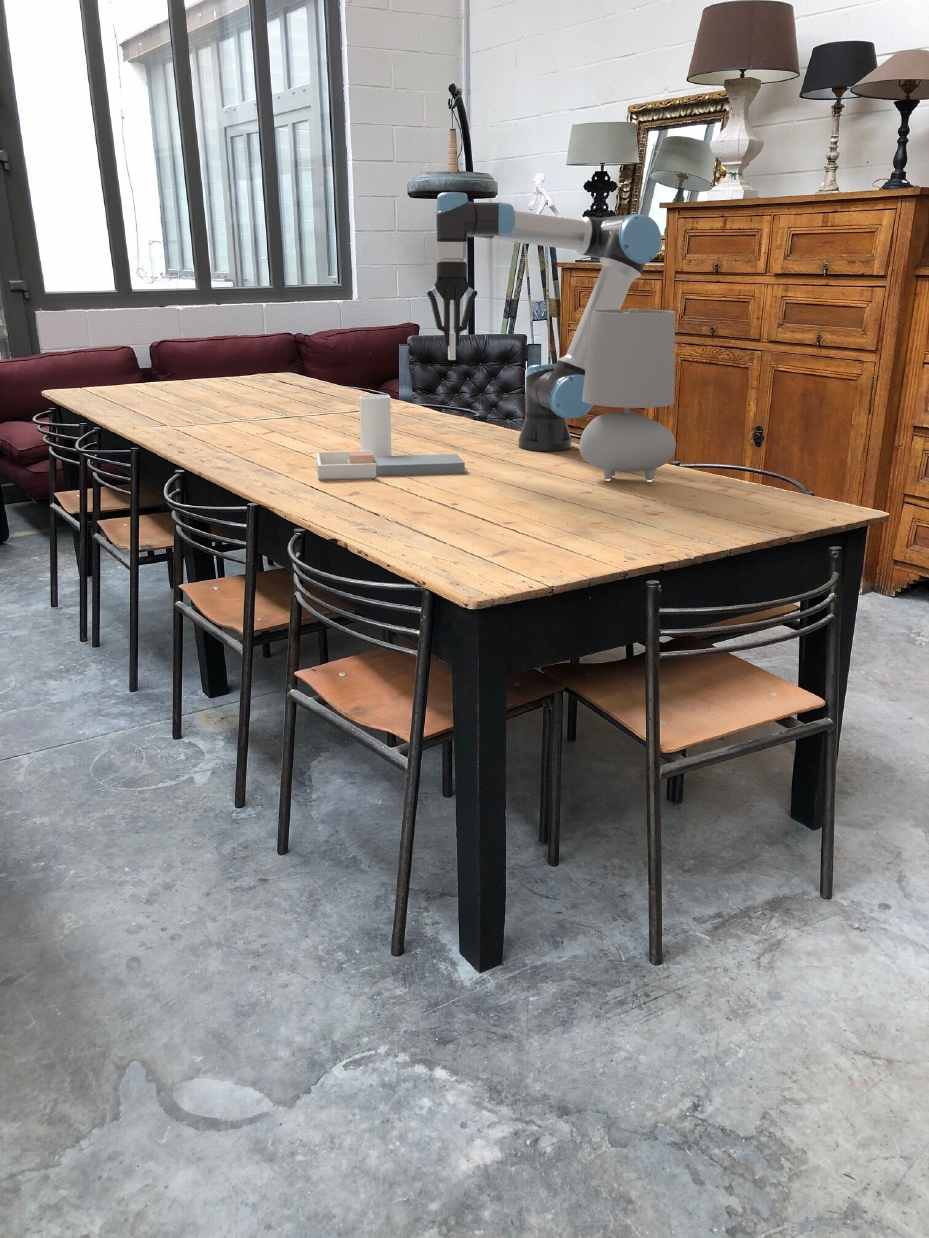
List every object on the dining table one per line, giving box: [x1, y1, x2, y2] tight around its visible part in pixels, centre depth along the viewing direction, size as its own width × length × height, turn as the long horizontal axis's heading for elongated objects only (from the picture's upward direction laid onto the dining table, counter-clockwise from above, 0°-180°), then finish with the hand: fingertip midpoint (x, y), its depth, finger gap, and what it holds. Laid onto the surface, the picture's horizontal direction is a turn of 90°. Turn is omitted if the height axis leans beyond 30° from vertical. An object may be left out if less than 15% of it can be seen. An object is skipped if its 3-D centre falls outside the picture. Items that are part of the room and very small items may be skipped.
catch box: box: [315, 450, 377, 481], centre depth 243 cm, size 14×18×4 cm
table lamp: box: [579, 307, 677, 480], centre depth 228 cm, size 23×22×40 cm
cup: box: [358, 394, 393, 456], centre depth 260 cm, size 8×8×16 cm
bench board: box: [374, 453, 466, 477], centre depth 246 cm, size 22×12×2 cm, turn 100°
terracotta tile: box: [347, 450, 374, 464], centre depth 243 cm, size 6×6×2 cm
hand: (451, 359), depth 246 cm, fingers closed
